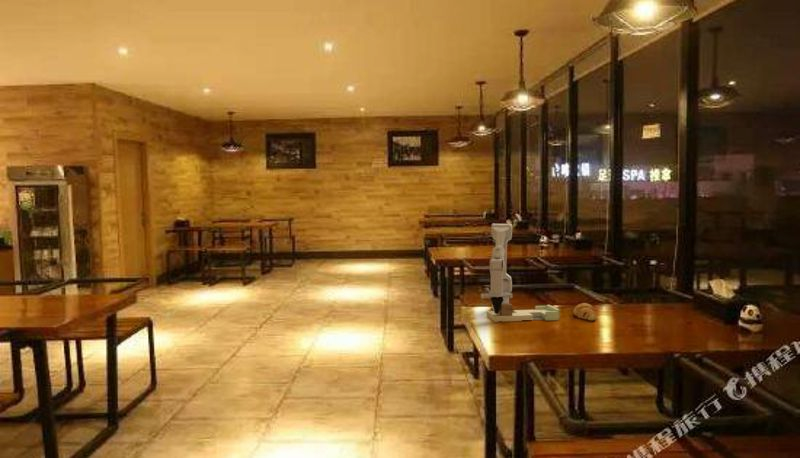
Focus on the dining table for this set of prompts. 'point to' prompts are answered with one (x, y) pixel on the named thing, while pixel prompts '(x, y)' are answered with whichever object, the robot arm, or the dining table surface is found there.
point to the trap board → (528, 314)
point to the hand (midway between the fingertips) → (496, 313)
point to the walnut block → (505, 309)
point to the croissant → (585, 311)
